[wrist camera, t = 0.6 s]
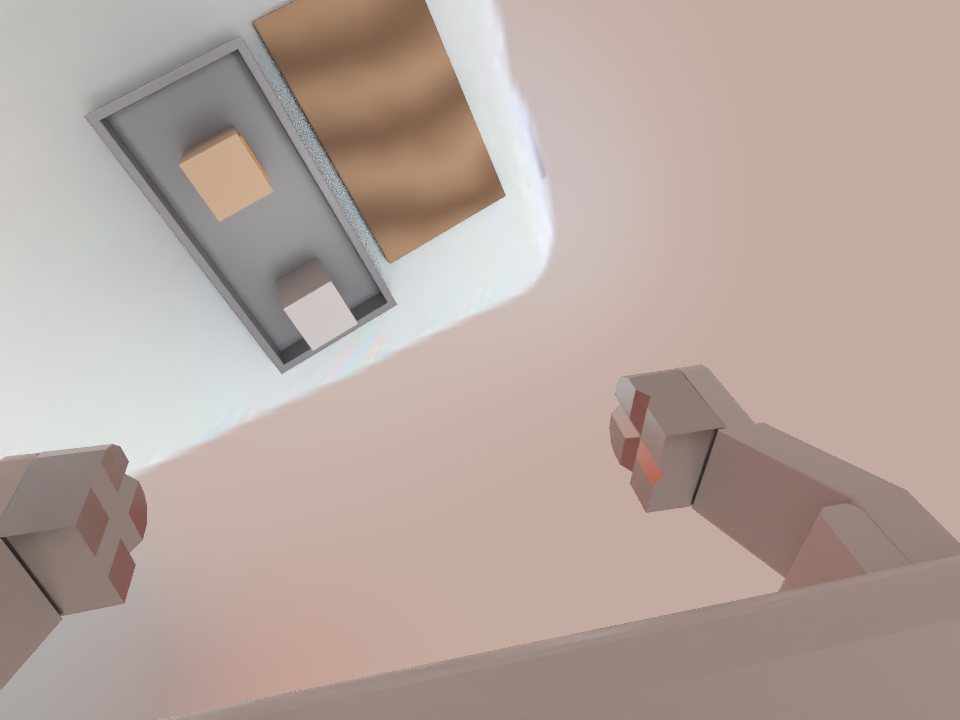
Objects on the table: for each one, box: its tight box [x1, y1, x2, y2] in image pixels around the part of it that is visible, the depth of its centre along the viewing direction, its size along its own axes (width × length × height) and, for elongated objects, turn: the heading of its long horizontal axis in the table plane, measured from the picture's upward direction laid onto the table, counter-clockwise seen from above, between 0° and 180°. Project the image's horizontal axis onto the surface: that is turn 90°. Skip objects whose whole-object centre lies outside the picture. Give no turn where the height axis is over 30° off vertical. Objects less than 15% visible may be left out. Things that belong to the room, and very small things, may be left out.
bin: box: [84, 35, 397, 374], centre depth 46 cm, size 22×11×4 cm, turn 25°
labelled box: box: [179, 126, 274, 222], centre depth 42 cm, size 4×4×8 cm
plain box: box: [275, 258, 358, 351], centre depth 48 cm, size 4×4×7 cm
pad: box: [253, 0, 506, 264], centre depth 48 cm, size 20×12×1 cm, turn 25°
